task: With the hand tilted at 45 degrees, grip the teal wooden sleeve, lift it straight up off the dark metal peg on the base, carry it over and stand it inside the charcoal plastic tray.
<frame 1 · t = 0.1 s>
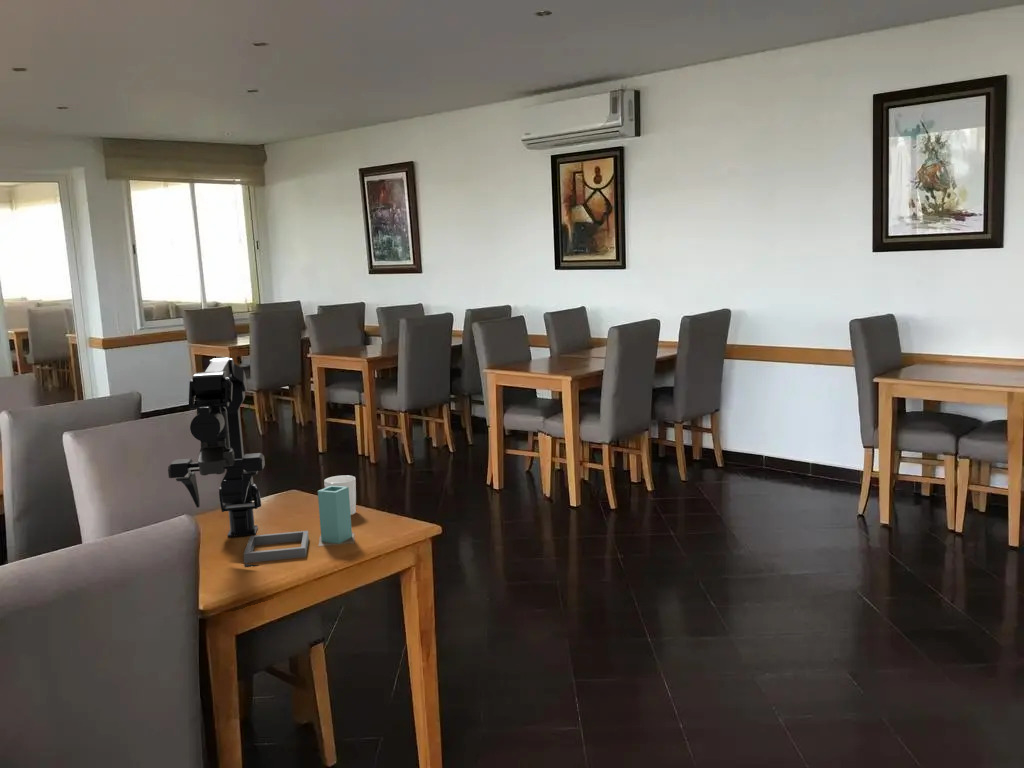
hand: (221, 505, 182), 15 cm above the table, tool pointing down, fingers open, 9 cm apart
tray: (278, 554, 194), on the table
sleeve: (336, 539, 200), point 1 cm above the table, touching grey plate with post
white cup: (342, 517, 222), on the table
grey plate with post: (337, 543, 200), on the table
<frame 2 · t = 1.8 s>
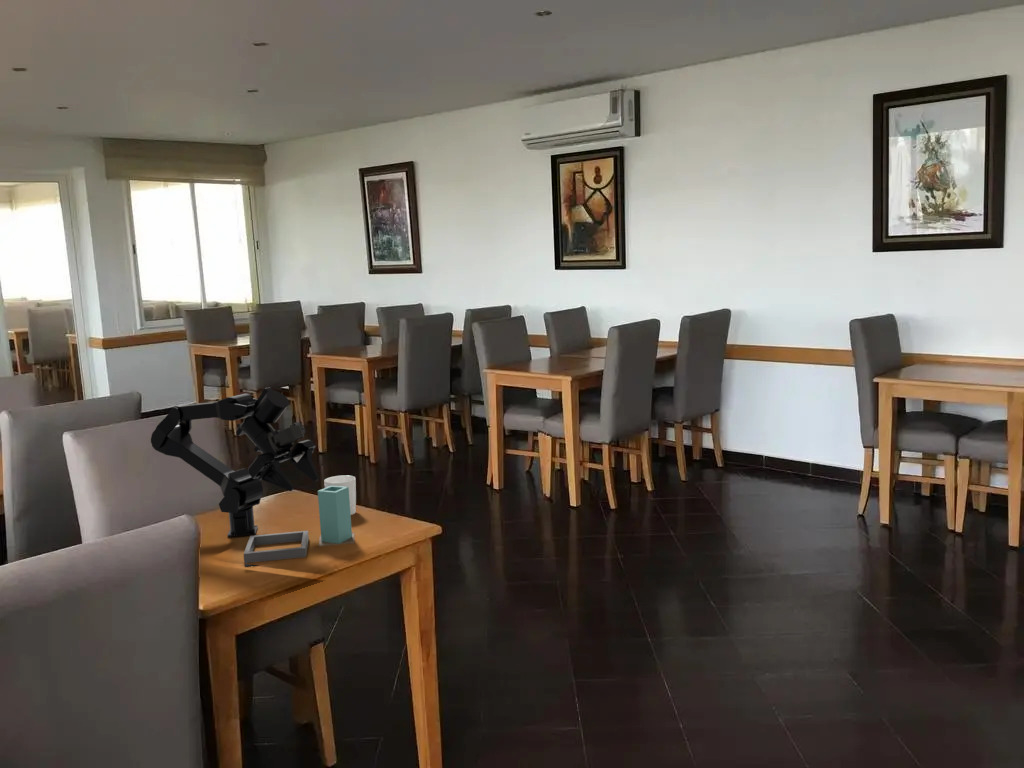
hand: (305, 484, 202), 13 cm above the table, tool tilted 45°, fingers open, 9 cm apart
nothing on the table moved.
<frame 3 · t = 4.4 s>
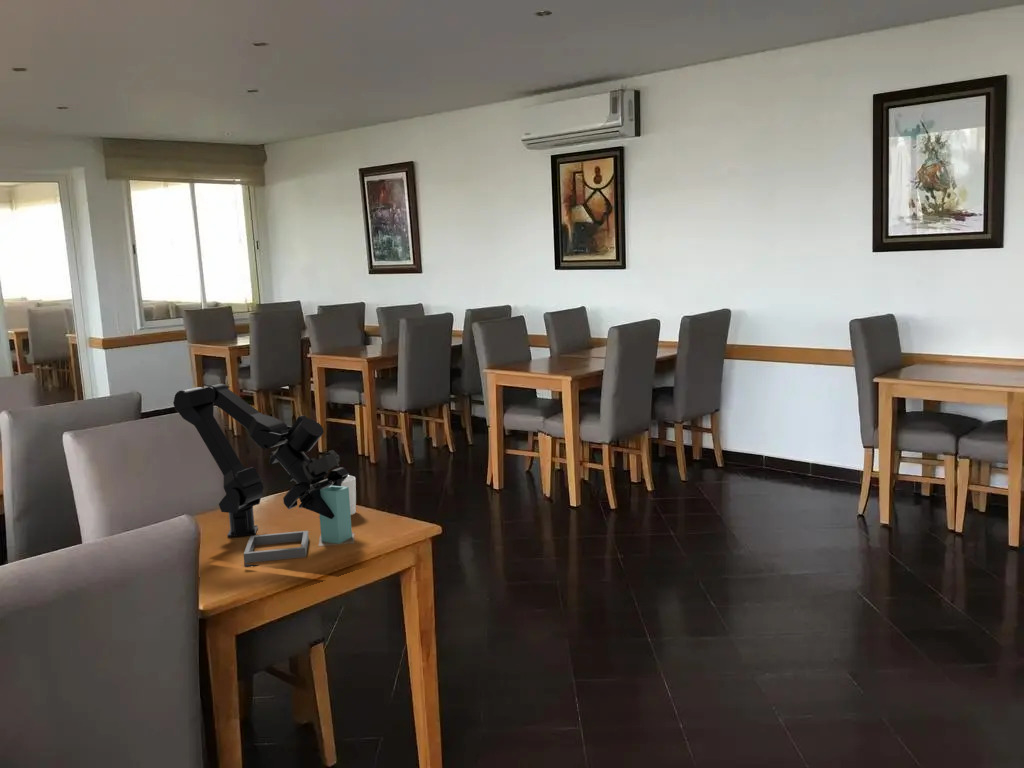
hand: (340, 514, 199), 7 cm above the table, tool tilted 45°, fingers closed on sleeve, 5 cm apart
sleeve: (336, 539, 200), point 1 cm above the table, touching gripper, grey plate with post
everything else where it was.
when the fingers open (8 cm above the table, at t = 9.2 s): sleeve drops 1 cm, resting on tray.
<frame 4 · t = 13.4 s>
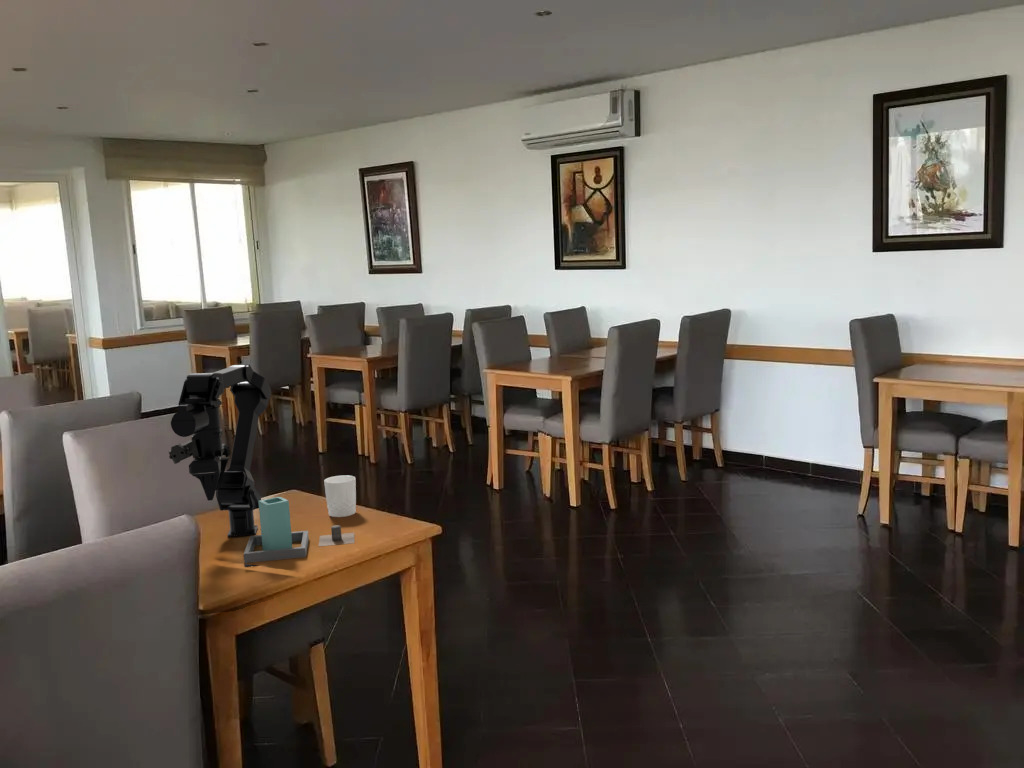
hand: (213, 495, 198), 13 cm above the table, tool pointing down, fingers open, 9 cm apart
sleeve: (277, 552, 194), resting on tray
everything else where it was.
at the end: sleeve inside the target area on the tray (0.0 cm from its centre), point 0.5 cm above the tray's base; sleeve tilted 0°; the gripper is holding nothing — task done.
